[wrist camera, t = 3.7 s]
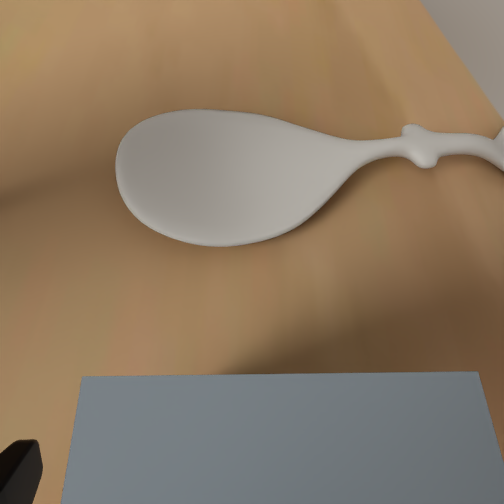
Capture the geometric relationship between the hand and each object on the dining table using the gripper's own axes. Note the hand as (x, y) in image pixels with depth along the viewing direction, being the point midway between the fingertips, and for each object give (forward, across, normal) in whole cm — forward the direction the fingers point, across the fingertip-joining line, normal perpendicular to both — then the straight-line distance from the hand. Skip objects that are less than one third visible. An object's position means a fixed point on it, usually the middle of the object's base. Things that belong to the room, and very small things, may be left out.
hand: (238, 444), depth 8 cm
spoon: (+15, -10, -4) cm, 19 cm away
